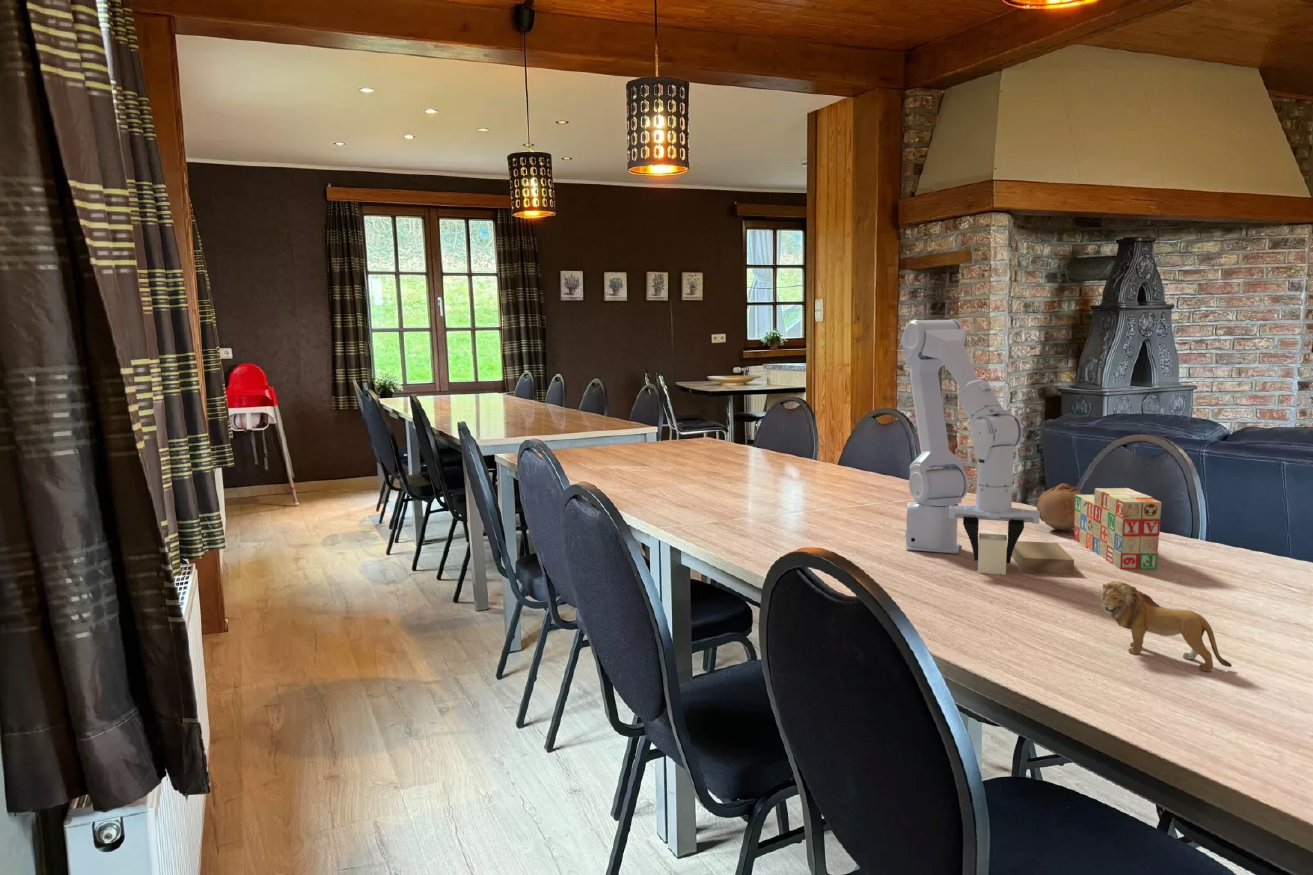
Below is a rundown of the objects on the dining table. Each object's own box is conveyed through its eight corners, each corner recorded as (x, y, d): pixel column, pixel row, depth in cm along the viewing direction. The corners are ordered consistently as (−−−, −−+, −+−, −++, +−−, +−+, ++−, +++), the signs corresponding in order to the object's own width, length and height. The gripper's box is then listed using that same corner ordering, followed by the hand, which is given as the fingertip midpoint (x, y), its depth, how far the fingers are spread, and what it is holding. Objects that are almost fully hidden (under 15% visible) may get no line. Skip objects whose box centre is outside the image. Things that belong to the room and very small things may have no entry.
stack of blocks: (1072, 540, 166) (1075, 479, 164) (1105, 540, 165) (1108, 479, 164) (1120, 570, 145) (1123, 500, 143) (1158, 570, 144) (1162, 500, 143)
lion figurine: (1094, 650, 109) (1096, 583, 108) (1103, 638, 113) (1106, 574, 112) (1229, 677, 100) (1234, 605, 99) (1233, 663, 104) (1238, 593, 103)
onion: (1078, 526, 177) (1080, 479, 175) (1093, 536, 167) (1095, 487, 166) (1030, 525, 178) (1032, 479, 177) (1043, 535, 169) (1044, 487, 168)
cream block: (977, 572, 144) (978, 539, 144) (978, 565, 149) (979, 533, 148) (1005, 575, 143) (1006, 540, 142) (1005, 568, 147) (1006, 534, 146)
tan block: (1023, 574, 144) (1023, 557, 144) (1010, 556, 156) (1010, 541, 155) (1073, 576, 142) (1074, 559, 142) (1056, 558, 154) (1056, 542, 154)
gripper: (948, 486, 143) (946, 563, 145) (1041, 490, 137) (1038, 570, 139) (950, 479, 149) (949, 553, 151) (1039, 483, 144) (1036, 559, 145)
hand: (992, 560), depth 145 cm, fingers closed on cream block, 4 cm apart
